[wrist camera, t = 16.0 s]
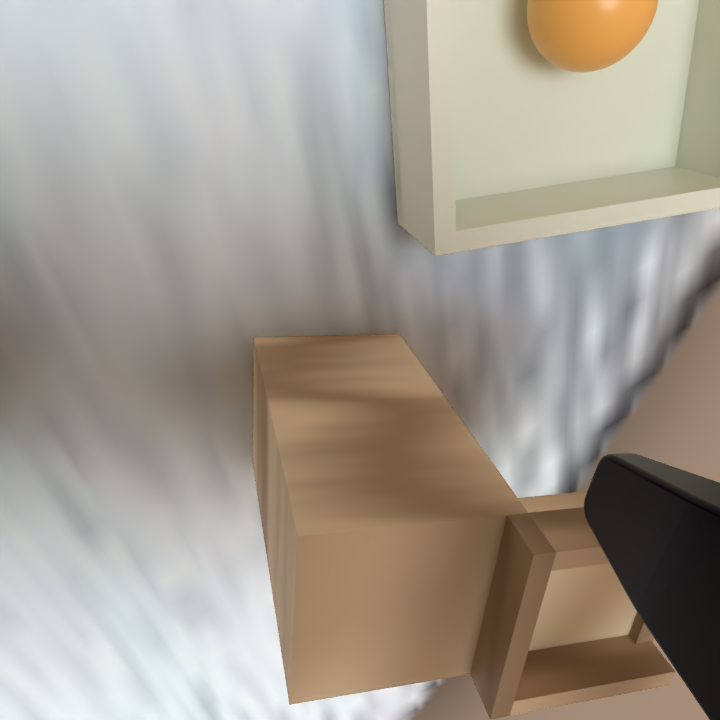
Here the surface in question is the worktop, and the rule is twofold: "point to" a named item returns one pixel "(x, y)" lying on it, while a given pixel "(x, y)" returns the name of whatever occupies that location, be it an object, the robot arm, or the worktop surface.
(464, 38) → the tray
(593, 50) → the ball
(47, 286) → the worktop surface
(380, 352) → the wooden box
